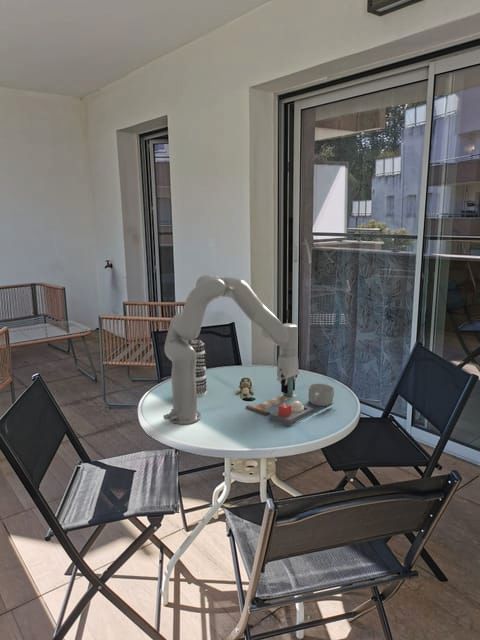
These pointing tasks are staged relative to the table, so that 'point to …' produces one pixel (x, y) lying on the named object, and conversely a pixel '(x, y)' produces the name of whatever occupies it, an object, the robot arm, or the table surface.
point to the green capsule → (289, 386)
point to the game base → (289, 414)
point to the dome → (296, 407)
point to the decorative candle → (199, 367)
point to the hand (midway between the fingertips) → (288, 390)
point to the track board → (262, 407)
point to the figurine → (245, 387)
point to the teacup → (321, 394)
